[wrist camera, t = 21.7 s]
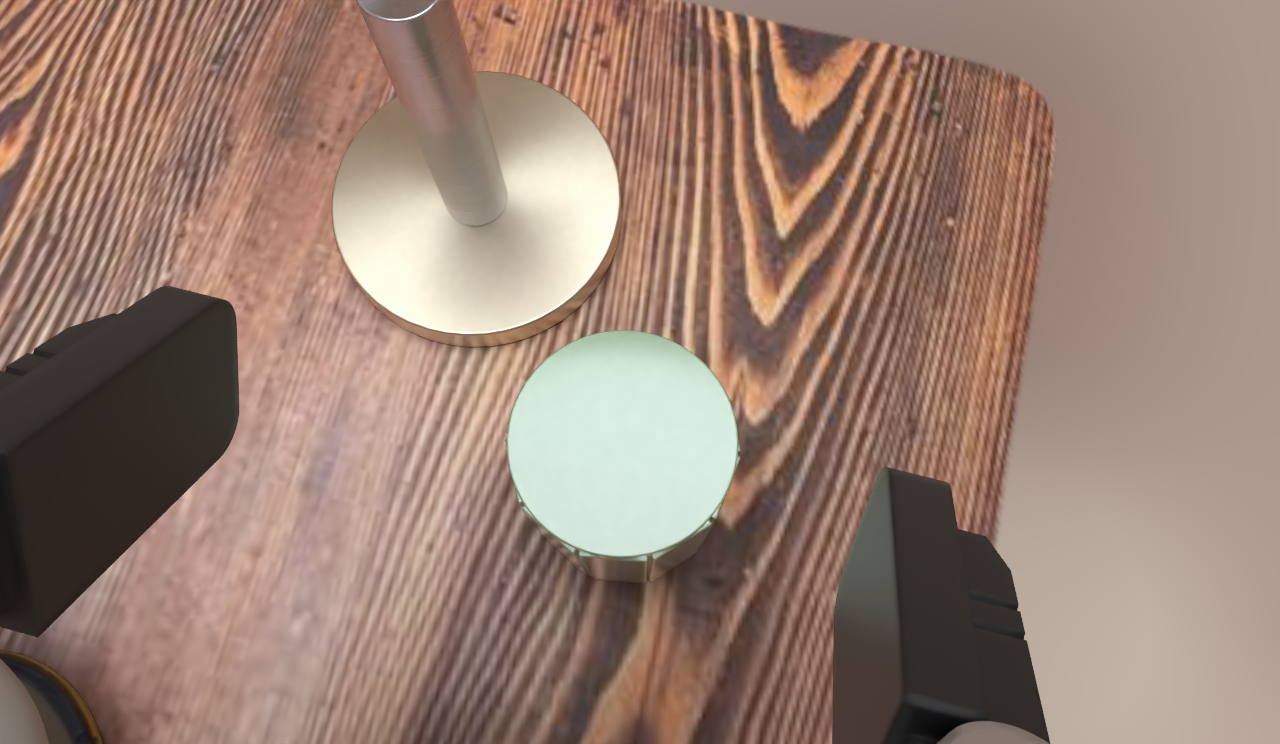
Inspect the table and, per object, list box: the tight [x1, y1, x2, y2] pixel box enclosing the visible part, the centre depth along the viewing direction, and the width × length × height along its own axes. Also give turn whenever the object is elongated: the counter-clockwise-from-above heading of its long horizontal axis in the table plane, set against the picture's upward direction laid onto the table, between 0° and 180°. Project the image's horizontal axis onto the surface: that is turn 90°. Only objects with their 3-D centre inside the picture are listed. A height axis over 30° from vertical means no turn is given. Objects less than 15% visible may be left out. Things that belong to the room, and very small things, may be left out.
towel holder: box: [331, 0, 622, 347], centre depth 32 cm, size 11×11×14 cm
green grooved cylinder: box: [505, 330, 741, 583], centre depth 31 cm, size 6×7×9 cm
